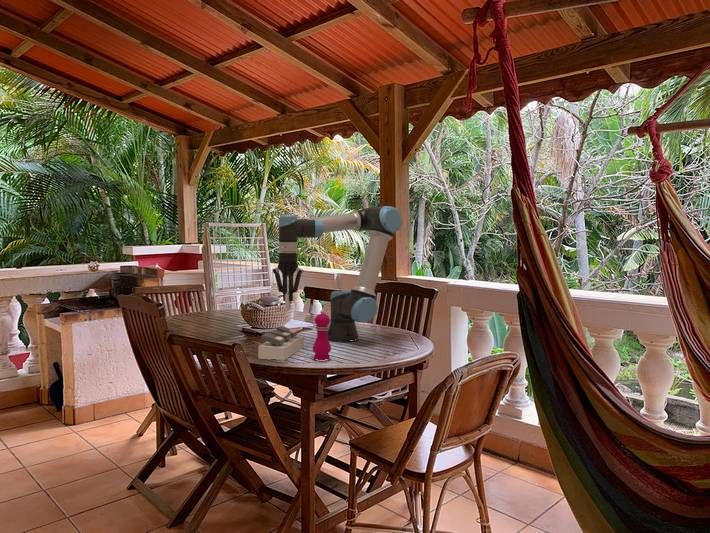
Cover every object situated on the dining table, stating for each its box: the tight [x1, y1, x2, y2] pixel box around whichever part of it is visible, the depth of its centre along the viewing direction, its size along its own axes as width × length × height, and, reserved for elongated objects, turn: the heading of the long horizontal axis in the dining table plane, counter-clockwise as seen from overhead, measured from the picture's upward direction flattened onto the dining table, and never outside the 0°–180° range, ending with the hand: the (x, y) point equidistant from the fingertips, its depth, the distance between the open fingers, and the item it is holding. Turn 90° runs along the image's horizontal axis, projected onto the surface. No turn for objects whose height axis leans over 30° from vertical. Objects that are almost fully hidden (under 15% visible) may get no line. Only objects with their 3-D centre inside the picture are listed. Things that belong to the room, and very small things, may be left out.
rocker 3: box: [275, 325, 298, 338], centre depth 234 cm, size 8×5×2 cm, turn 77°
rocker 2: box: [268, 329, 291, 341], centre depth 226 cm, size 8×5×2 cm, turn 77°
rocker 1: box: [260, 332, 285, 346], centre depth 218 cm, size 8×5×2 cm, turn 77°
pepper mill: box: [312, 309, 332, 360], centre depth 216 cm, size 7×7×20 cm
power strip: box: [257, 335, 305, 361], centre depth 229 cm, size 11×30×6 cm, turn 167°
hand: (287, 309), depth 225 cm, fingers closed
